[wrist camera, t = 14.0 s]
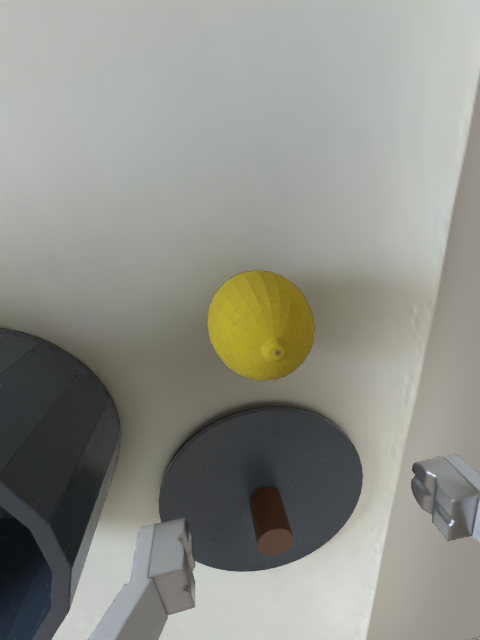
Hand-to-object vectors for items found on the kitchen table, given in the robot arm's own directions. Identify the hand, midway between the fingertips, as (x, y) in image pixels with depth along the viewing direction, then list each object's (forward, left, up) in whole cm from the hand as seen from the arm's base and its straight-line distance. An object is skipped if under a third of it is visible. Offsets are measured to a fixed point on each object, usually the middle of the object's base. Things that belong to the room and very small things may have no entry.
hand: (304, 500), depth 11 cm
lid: (+12, -1, -11) cm, 16 cm away
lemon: (-4, 0, -12) cm, 12 cm away
